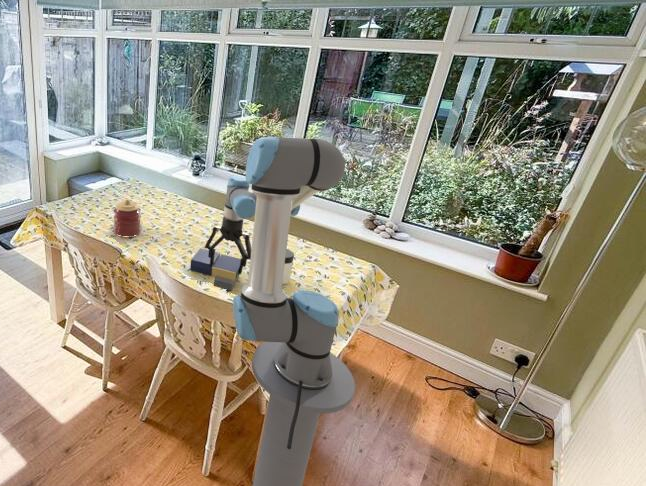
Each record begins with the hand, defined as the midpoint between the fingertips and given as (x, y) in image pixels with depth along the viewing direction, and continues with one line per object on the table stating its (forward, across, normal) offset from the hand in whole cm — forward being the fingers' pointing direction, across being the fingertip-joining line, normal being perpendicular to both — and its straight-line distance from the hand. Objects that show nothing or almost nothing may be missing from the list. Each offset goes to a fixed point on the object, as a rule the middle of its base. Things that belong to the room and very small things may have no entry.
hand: (225, 268), depth 160 cm
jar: (+5, -19, -12) cm, 23 cm away
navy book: (0, -1, 0) cm, 1 cm away
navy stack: (+5, +10, -7) cm, 13 cm away
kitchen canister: (+7, +54, -20) cm, 58 cm away
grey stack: (+5, -1, 0) cm, 5 cm away
